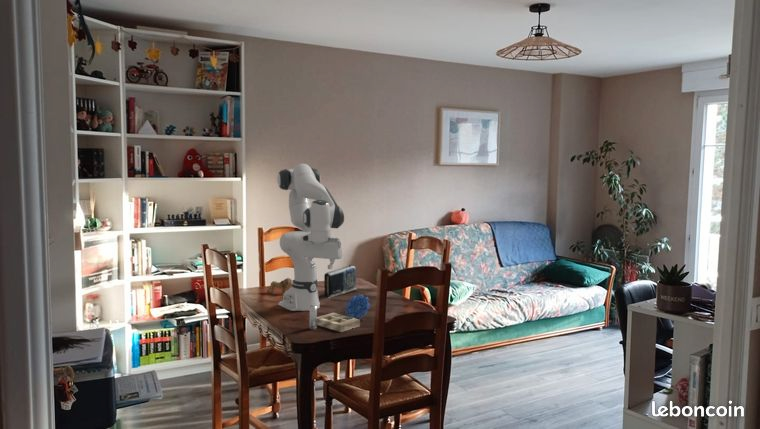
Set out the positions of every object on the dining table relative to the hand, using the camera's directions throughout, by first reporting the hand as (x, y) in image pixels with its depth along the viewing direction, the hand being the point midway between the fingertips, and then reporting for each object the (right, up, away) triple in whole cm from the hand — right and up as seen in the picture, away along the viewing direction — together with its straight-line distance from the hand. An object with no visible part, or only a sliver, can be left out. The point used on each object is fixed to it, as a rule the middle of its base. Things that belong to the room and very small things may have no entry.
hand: (321, 268), depth 248 cm
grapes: (+15, -26, +17) cm, 34 cm away
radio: (+4, -21, +65) cm, 69 cm away
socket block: (+7, -26, +6) cm, 28 cm away
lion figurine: (-30, -20, +64) cm, 74 cm away
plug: (-4, -27, +1) cm, 27 cm away
